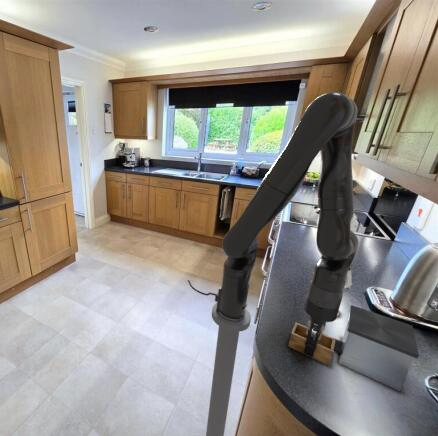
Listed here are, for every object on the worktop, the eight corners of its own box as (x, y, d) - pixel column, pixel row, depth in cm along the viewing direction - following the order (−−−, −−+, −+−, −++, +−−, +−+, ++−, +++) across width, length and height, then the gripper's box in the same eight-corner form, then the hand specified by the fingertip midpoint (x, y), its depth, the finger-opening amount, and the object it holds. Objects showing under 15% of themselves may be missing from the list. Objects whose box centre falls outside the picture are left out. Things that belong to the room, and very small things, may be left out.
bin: (330, 360, 68) (340, 325, 64) (334, 334, 77) (344, 302, 74) (402, 393, 59) (419, 355, 55) (397, 360, 68) (412, 325, 65)
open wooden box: (288, 346, 73) (291, 333, 71) (292, 335, 77) (295, 322, 75) (328, 366, 66) (333, 351, 65) (331, 352, 71) (335, 338, 69)
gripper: (311, 283, 74) (300, 328, 79) (302, 305, 63) (290, 355, 68) (342, 292, 69) (328, 340, 74) (337, 319, 59) (322, 371, 64)
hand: (310, 347), depth 71 cm, fingers closed on open wooden box, 6 cm apart
